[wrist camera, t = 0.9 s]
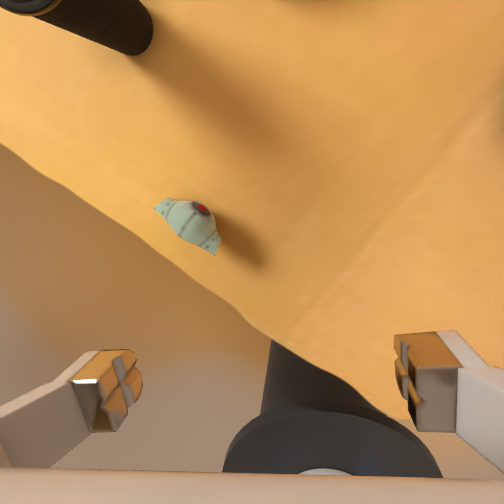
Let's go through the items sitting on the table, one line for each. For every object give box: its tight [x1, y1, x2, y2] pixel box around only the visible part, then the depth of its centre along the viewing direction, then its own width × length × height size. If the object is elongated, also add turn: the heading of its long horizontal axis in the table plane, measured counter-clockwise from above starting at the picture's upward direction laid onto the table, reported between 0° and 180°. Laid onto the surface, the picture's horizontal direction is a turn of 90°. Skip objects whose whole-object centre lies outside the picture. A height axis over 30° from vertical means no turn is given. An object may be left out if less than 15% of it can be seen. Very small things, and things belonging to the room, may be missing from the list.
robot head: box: [154, 198, 221, 256], centre depth 32 cm, size 8×4×7 cm, turn 53°
